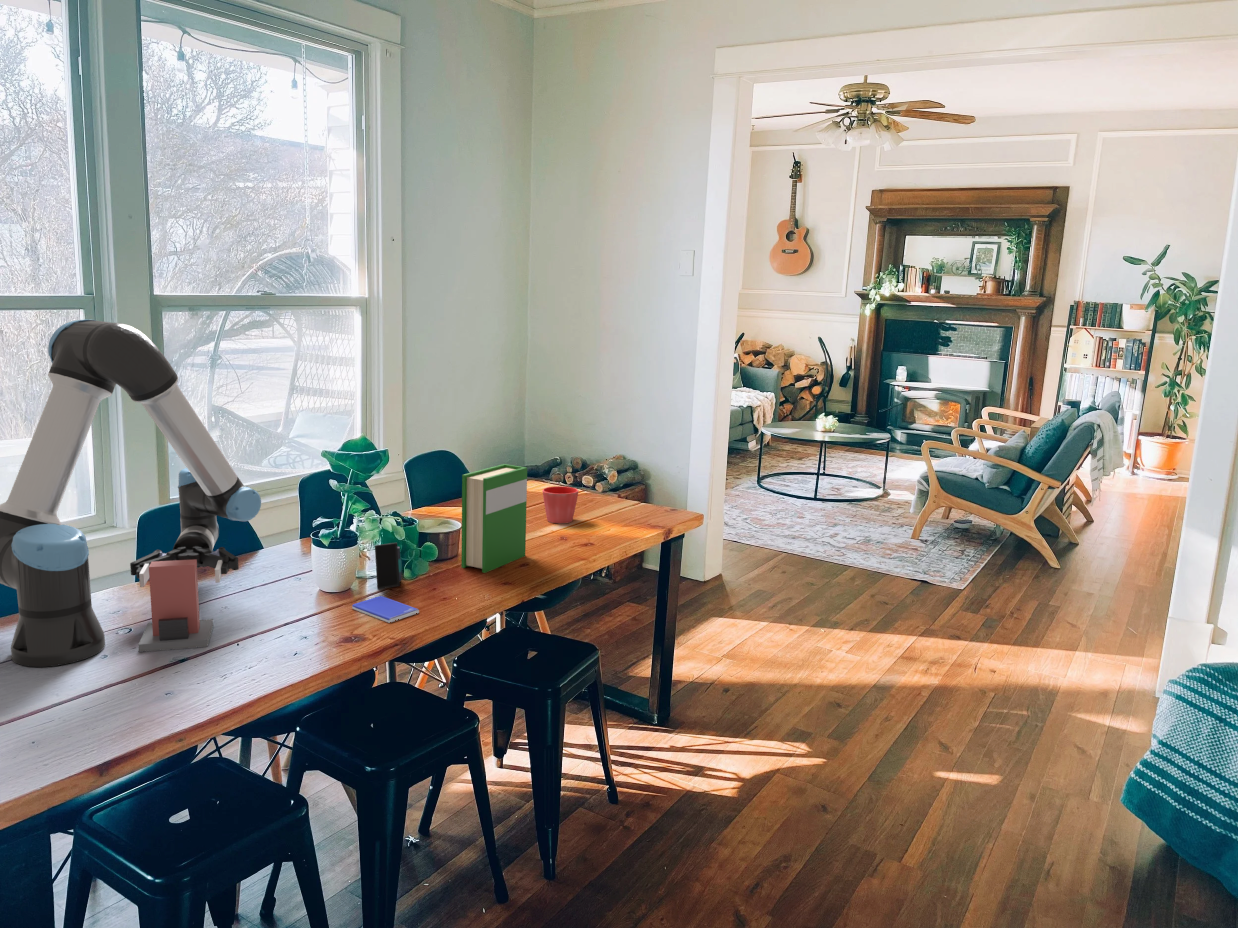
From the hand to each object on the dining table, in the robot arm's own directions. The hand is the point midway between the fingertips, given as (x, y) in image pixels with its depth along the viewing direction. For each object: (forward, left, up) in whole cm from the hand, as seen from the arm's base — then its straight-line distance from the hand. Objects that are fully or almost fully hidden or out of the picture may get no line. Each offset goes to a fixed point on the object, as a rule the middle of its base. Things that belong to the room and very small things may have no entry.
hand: (179, 578), depth 182 cm
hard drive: (+40, +5, -12) cm, 42 cm away
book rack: (-1, -3, -12) cm, 12 cm away
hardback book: (+69, +35, -12) cm, 79 cm away
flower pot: (+96, +72, -12) cm, 121 cm away
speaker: (+41, +23, -12) cm, 49 cm away
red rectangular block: (-1, -3, -10) cm, 10 cm away
